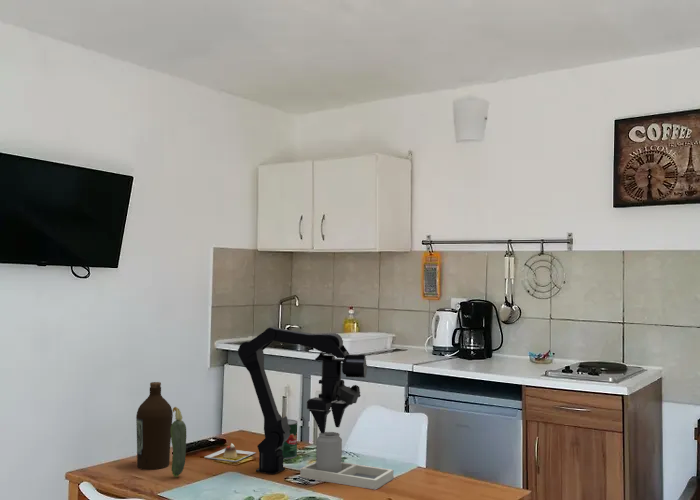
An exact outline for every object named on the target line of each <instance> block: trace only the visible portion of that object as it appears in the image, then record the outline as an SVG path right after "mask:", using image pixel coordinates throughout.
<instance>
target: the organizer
mask: <svg viewBox="0 0 700 500" xmlns="http://www.w3.org/2000/svg"><path fill="white" fill-rule="evenodd" d="M356 473H359V474H365V475H371V476H378V477H376V478H375V479H371V478H365V477H359V476H352V475H354V474H356ZM299 477H300V478H304V479H308V478H309V479H310V480H316V481H322V482H327V483H332V484H333V483H334V484H338V485H345V486H351V487H357V488H363V489H368V490H370V489H371V490H377V489H379V488H381V487H383V486H384V485H386V484H387V483H389V482H391V481H392V480H394V469H391V468H384V467H377V466H369V465H363V464H358V463H351V462H350V463H349V462H343V461H342V468H341V471H340V472H338V473H334V472H327V471H321V470H316V461H313V462H311V463H310V464H307V465H304V466H302V467H300V474H299Z"/></svg>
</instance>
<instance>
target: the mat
mask: <svg viewBox="0 0 700 500" xmlns="http://www.w3.org/2000/svg"><path fill="white" fill-rule="evenodd" d="M352 476H359V477H365V478H371V479H375V478H376V477H378V476H371V475H365V474H359V473H356V474H354V475H352Z"/></svg>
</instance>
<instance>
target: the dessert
mask: <svg viewBox="0 0 700 500" xmlns="http://www.w3.org/2000/svg"><path fill="white" fill-rule="evenodd" d="M221 454H223V456H222V457H223V458H217V456H218V455H221ZM238 454H241V455H242V454H244V455H246V456H244V457H241V458H238V459H237V460H233V459H235V458H237V457H238ZM254 454H257V452H255V451H246V450H241V449H240V450H239V449H236V447H235V445H234V443H232V442H231V443H229V444H228V445H227V446H226V447H225V448H223V449H221V450H218V451H215V452H213V453H210V454H208V455H205V456H204V458H206V459H209V460H214V461H215V460H216V461H217V460H218V461H223V462H232V463H237V462H239V461H241V460H244V459H246V458H248V457H250V456H253V455H254ZM224 458H225V459H224ZM231 459H232V460H231Z"/></svg>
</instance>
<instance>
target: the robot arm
mask: <svg viewBox="0 0 700 500" xmlns="http://www.w3.org/2000/svg"><path fill="white" fill-rule="evenodd" d="M343 341H344V340H343V337H341V335H340V334H338V333H336V332H335V333H334V332H329V333H328V332H327V333H325V332H324V333H309V332H304V331H296V330H291V329H285V328H280V327H278V326H271V327H267V328H266V329H265V330H264V331H263V332H262V333H260V334H259V335H258V334H257V336H256V337H254V338H252V339H251V340H248V341H244V342H243V343H242V342H241V344H240V345H239V346H238V349H237V354H238V357H239V359H240V361H241V363H242V365H243V367H244V368H245V369H246V370H247V371H248V373H249V375H250V378H251V381H252V384H253V388H254V391H255V394H256V396H257V401H258V404H259V406H260V409H261V413H262V416H263V431H264V433H263V434H264V438H263V439H262V440H261V442H259V444H257V450H258V452H259V453H258V456H259V457H258V468H257V469H255V472H257V473H262V474H268V475H276V474H278V473H280V472H283V471H285V470H286V468H285V467H284V459H283V458H284V456H283V455H282V450H281V449H279V448H281V447H282V446H283V443H284V442H285V441H287V439H288V438H289V436H290V431H289V430H290V429H291V428H290V426H289V424H288V420H287V419H288V417H287V416H282V415H281V414H280V413H279V410H278V407H277V405H276V402H275V398H274V395H273V392H272V389H271V386H270V383H269V382H270V381H269V379H268V376H267V373H266V370H265V353H264V350H265V349H267V348H268V347H269V346H270V345H271V344H272V343H273V342H280V343H287V344H291V345H292V344H293V345H297V346H304V347H309V348H311V349H314V350H316V351H319V352H320V353H319V354H318V356H317V357H316V358H314V361H316V362H321V379H319V380H318V384H319V385H321V389H320V390H321V393H318V397H313V398H309V399H308V400H306V401H307V402H306V409H307V410H309V412H310V413H311V416H313V419H314V421H315V423H316V425H317V428H318V430H319V432H320V433H325V432H326V426H327V418H328V415H329V414H330V413H332V418H333V422H334V426H335V428H340V427H341V423H342V420H343V416H344V414H345V411H346V409H347V408H348V407H349V406H351V405H353V404H357V401H358V400H359V399H358V398H360V397H361V389H360V388H361V387H360V386H358V385H357V384H354V385H352V386H351V387H350V386H347V385H345V380H344V379H342V374H343V375H345V377H346V378H357V379H358V378H363V379H365V378H366V377H367V373H368V372H367V370H368V364H367V358H366V354H365V353H364V354H363V353H361V354H352V353H351V354H350V352H349V351H348V350H347V348H346V346H344V342H343Z"/></svg>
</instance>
